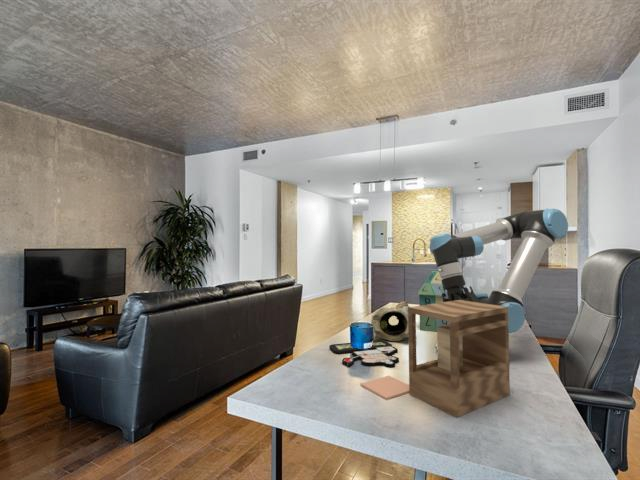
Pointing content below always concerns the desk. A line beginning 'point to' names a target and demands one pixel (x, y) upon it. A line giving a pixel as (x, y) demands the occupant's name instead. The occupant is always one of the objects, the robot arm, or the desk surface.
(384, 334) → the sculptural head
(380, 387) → the terracotta tile
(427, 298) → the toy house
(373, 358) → the sign
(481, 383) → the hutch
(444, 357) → the beech block
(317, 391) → the desk surface
